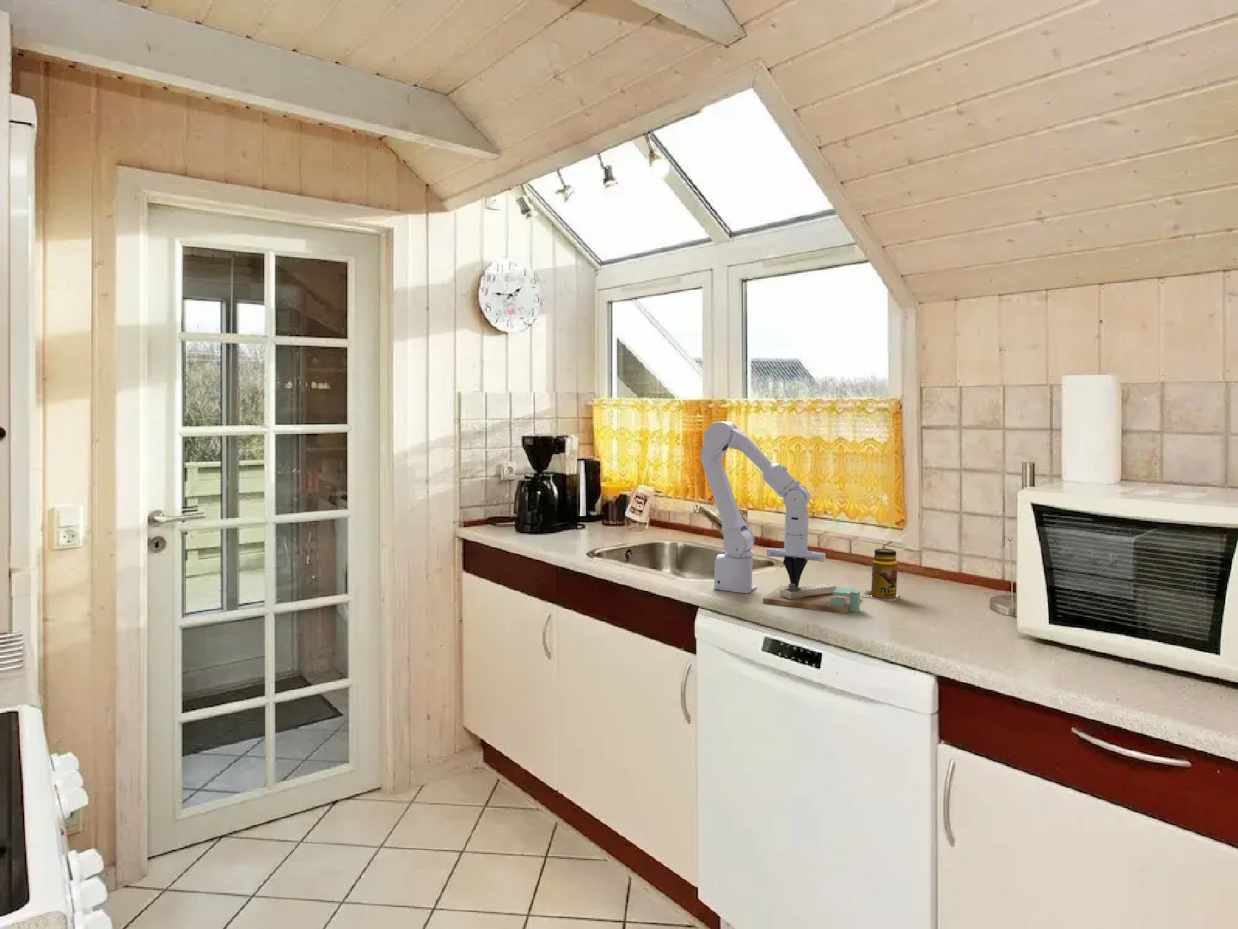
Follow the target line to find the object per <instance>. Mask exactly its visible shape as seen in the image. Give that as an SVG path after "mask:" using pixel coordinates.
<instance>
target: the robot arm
mask: <svg viewBox="0 0 1238 929" xmlns="http://www.w3.org/2000/svg"><path fill="white" fill-rule="evenodd" d="M728 449H733V450H737V451H740V452H741V453H743V454H744V455H745V457H747V458H748V459H749V460H750V462H752V463H753V464H754V466H756V467H757V468H758V469H759V470H760V471H761V472H762V480H764V482H766V484H767V485H768V486H769V487H770V488H771V489H772V491H774V492H775V493H776V494H777V495H778V496H779V497H780V498H783V499H782V502H783V504H784V506H785V515H784V545H783V546H784V547H783V548H775V547H774V548H773V547H769V548H766V557H768V558H771V557H775V558H783V560H782V562H783V563H782V564H783V565H784V567H785V570H786V571H787V574H788V578H789V582H790V583H789V584H795V588H797V587H800V586H799V585H800V580H801V576H802V574H803V571H804V569H805V567H806V565H807V564H808V561H814V562H815V561H816V562H819V563H824V562H825V561H826V553H825V552H818V551H812V550H808V544H809V542H808V540H809V539H808V538H809V537H808V535H809V515H808V513H809V507H808V505H809V503H810V501H811V494H810V491H809V490H808V488H807V487H806V486H804V485H801V481H800V480H796V479H795V478H794V477H793V476H792V475H791V474H790V473H789V472H788V469H789V468H788V467H787V466H786V465H781V464H780V463H773V462H772V461H771V460H770V459H769V458H768V457H767V456H766V454H764V452H763V451H762V450H761V449H760V448H759V447H758V446H757V445H756V444H755V442H754V441H753V440H752V439H751V438H750V437H749V436H748V434H746V433H745V432H744V431H743V430H742V429H740V428H738V427H737V425H736V424H735V423H734V422H732V421H729V420H728V421H727V420H726V421H715V422H712V423H711V424H710V425H709V426H708V427H707V429H706V430H705V432H704V434H703V443H702V448H701V452H700V453H701V454H700V461H701V465H702V467H703V470H704V474H705V476H706V479H707V481H708V485H709V487H710V491H711V494H712V497H713V499H714V502H715V505H716V508H717V511H718V514H719V517H720V520H721V532H722V536H723V541H722V542H723V543H722V544H723V545H722V546H723V549H724V551H725V552H724V553H719V554H717V555H716V558H715V561H714V578H713V579H714V581H713V582H714V583H713V584H714V586H713V587H712V589H713V590H716V589H720V590H719V591H726V592H733V593H734V592H736V593H743V594H749V593H751V592H752V591H754V590H755V589H757V588H758V586H757V585H755V584H754V585H753V559H754V558H753V557H754V556H753V555H754V554H753V552H752V550H751V549H752V548H753V546H754V545H755V536H754V533H753V532H752V530H750V529H749V528H748V526H747V523H746V521H745V520H744V519H743V517H742V516H741V514H740V513H741V512H740V511H739V510H740V509H739V507H738V505H737V501H736V499H735V495H734V493H733V489H732V487H731V483H730V481H729V478H728V476H727V472H726V469H725V466H724V463H723V460H722V459H723V457H724V455H725V454H726V452H727V450H728Z"/></svg>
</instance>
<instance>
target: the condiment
mask: <svg viewBox="0 0 1238 929" xmlns="http://www.w3.org/2000/svg"><path fill="white" fill-rule="evenodd" d="M871 562H872V564H871V566H872V567H871V590H868V589H866V590H865V591H864V592H863V593H862V594H861V595H862V596H861V595H860V598H861V597H862V598H869V599H876V600H883V601H891V602H895V601H896V600H897V599H899V597H900V594H897V591H898V590H897V588H898V587H897V584H898V561H897V551H896V550H895V549H890V548H876V549H874V555H873V560H872V561H871ZM863 595H865V596H863ZM867 595H872V597H869V596H867ZM873 597H874V598H873Z"/></svg>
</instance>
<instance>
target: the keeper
mask: <svg viewBox="0 0 1238 929" xmlns="http://www.w3.org/2000/svg"><path fill="white" fill-rule="evenodd" d="M833 595H836V596H845V597H850V610H849V612H854V613H855V612H857V613H858V612H859V610H860V605H861V604H860V602H861V601H860V600H861V597H860V596H861V590H855V588H852V587H843V586H837V587H836V589H835V590H834V591H833ZM844 601H845V598H837V597H831V604H830V605H832V606H840V607H844Z"/></svg>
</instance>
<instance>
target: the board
mask: <svg viewBox="0 0 1238 929" xmlns="http://www.w3.org/2000/svg"><path fill="white" fill-rule="evenodd" d="M784 588H788V591H790V592H793V591H795V584H791V583H788V585H783V584H782V585H779V586H778V587H775V589H774V590H772V591H770V592H769V593H768V594H766V595H765V596H764V597H763V598H762V604H767V603H769V605H776V606H784V607H785V606H786V607H792V608H793V607H794V608H801V609H808V610H815V611H823V612H830V613H831V612H832V613H833V612H834V613H839V614H846V613H847V614H848V613H849V612H850V597H845V596H836V595H833V593H828V594H821V595H813V596H805V597H802V598H795V599H789V598H786V597H783V596H780V589H784ZM831 597H837V598H845V601H844V607H840V606H832V605H830V604H831Z"/></svg>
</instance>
